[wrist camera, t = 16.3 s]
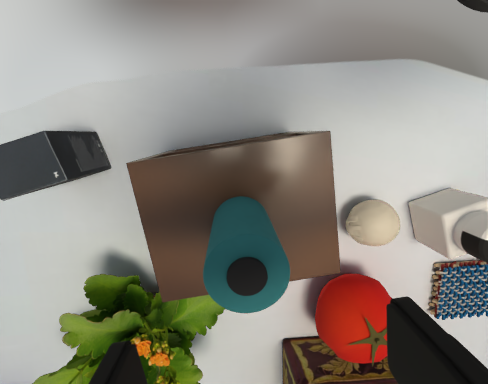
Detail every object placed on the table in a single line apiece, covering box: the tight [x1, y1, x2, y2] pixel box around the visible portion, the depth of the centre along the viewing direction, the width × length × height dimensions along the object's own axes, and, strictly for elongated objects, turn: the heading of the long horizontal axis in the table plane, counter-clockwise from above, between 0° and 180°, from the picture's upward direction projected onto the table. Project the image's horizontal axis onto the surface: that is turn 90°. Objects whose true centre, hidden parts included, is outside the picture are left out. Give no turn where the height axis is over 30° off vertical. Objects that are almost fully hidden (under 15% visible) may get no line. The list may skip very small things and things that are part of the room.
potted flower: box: [33, 274, 225, 384], centre depth 35 cm, size 25×24×18 cm
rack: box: [126, 131, 340, 302], centre depth 32 cm, size 14×18×16 cm
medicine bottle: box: [409, 188, 488, 263], centre depth 36 cm, size 7×7×12 cm
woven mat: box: [429, 260, 488, 320], centre depth 44 cm, size 10×11×2 cm
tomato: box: [315, 274, 392, 367], centre depth 40 cm, size 13×12×11 cm
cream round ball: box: [346, 200, 400, 246], centre depth 38 cm, size 7×7×7 cm
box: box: [0, 131, 111, 201], centre depth 32 cm, size 8×6×11 cm
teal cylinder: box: [203, 196, 290, 313], centre depth 19 cm, size 5×5×9 cm
